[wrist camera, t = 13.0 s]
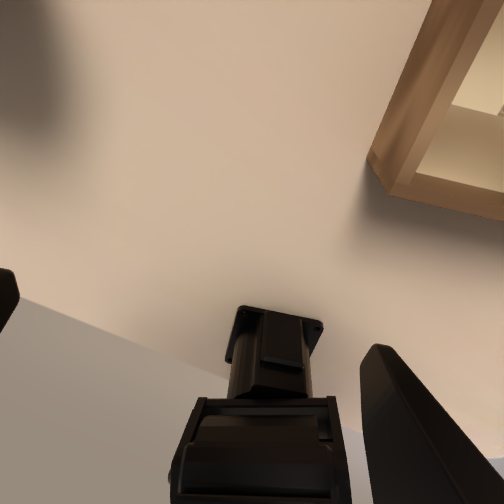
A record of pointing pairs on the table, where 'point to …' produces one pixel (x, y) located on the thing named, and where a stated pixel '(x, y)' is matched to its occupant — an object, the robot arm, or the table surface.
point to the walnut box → (449, 113)
